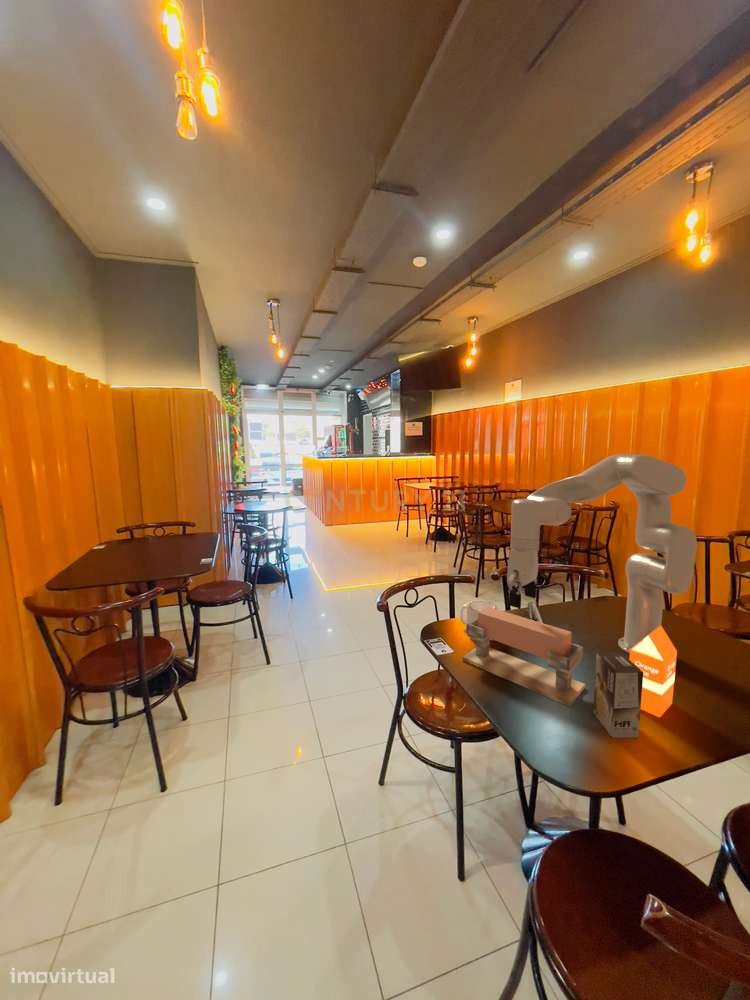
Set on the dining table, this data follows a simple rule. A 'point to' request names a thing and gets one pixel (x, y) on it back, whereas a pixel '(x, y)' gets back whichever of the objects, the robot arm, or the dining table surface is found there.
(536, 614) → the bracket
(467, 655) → the cradle stand
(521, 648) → the rail
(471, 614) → the mug
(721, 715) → the dining table surface
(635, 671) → the coffee box
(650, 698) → the orange juice
